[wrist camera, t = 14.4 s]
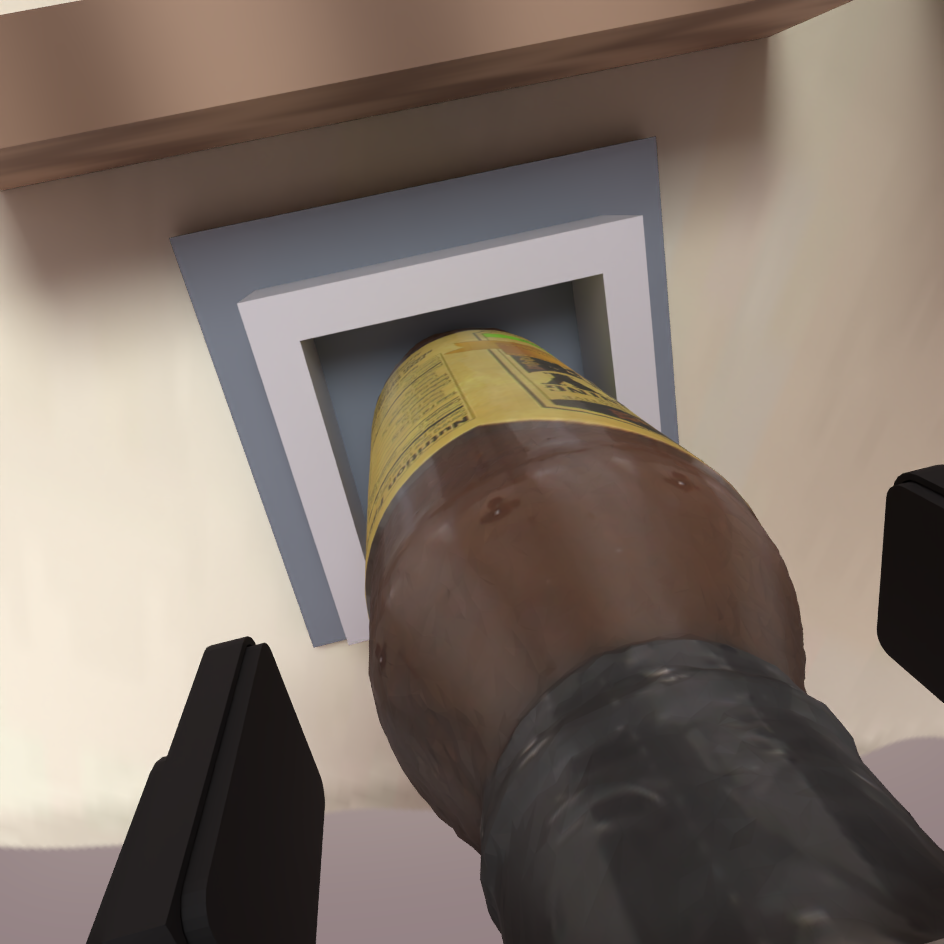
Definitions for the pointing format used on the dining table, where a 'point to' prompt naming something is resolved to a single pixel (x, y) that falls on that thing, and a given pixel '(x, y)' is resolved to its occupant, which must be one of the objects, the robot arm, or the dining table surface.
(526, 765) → the sauce bottle
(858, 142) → the dining table surface
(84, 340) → the dining table surface
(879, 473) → the dining table surface
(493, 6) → the walnut wall
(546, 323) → the holder
